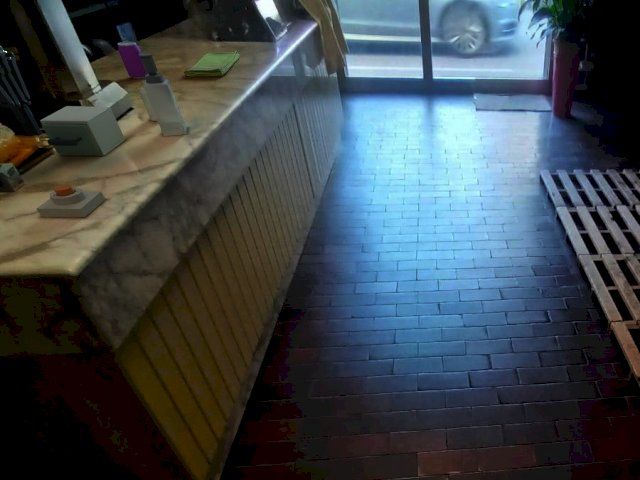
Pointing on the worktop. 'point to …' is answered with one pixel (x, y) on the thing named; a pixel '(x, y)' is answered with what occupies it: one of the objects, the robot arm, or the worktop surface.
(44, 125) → the drawer
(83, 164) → the worktop surface
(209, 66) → the dish towel
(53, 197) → the control block
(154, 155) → the worktop surface
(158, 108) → the soap dispenser
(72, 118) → the cabinet
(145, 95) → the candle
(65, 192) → the button
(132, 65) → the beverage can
